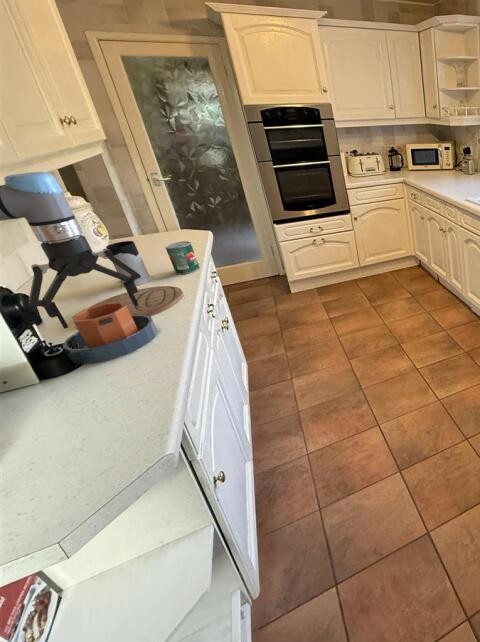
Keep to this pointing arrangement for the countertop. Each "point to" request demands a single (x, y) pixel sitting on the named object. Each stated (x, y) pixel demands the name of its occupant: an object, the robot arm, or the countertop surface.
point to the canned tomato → (182, 257)
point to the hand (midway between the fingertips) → (102, 315)
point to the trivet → (149, 300)
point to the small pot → (105, 324)
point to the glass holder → (129, 260)
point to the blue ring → (115, 347)
